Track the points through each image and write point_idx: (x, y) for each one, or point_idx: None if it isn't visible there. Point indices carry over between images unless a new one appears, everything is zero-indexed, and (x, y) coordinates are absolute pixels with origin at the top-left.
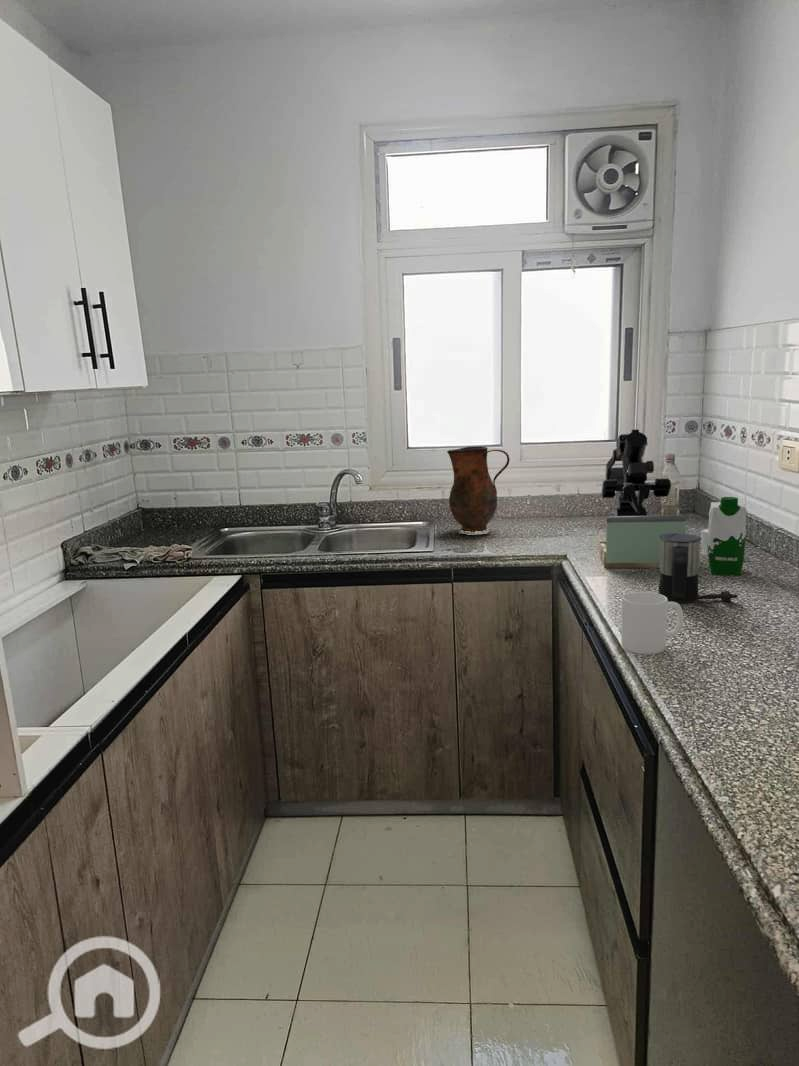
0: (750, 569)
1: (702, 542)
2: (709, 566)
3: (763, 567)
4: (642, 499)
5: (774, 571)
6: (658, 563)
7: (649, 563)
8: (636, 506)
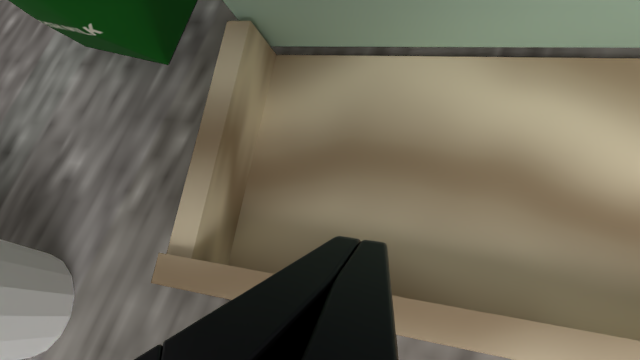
0: (57, 34)
1: (17, 301)
2: (168, 55)
3: (6, 60)
4: (152, 353)
5: (11, 9)
6: (384, 59)
7: (434, 60)
8: (374, 281)
